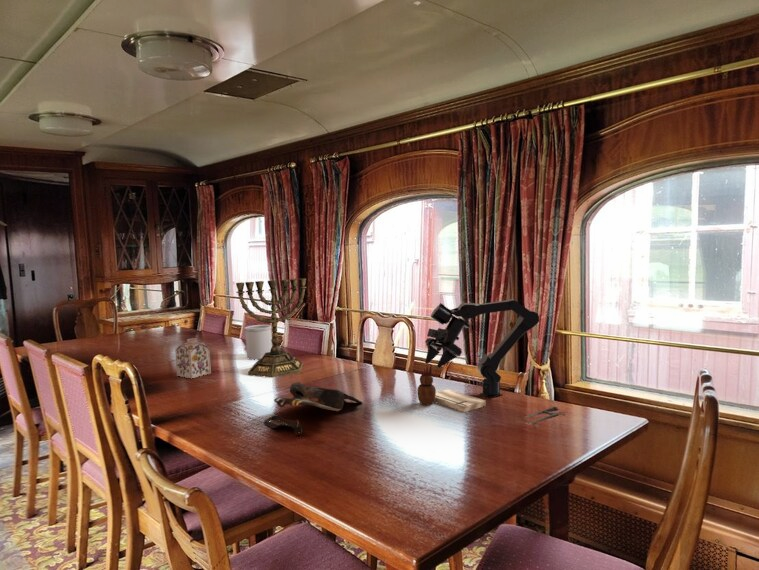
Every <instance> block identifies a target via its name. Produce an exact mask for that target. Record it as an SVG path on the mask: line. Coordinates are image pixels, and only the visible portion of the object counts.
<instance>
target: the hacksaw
mask: <svg viewBox="0 0 759 570" xmlns="http://www.w3.org/2000/svg"><path fill="white" fill-rule="evenodd" d="M559 409H560V408H558V406H551V407H549V408H547V409H544V410H542V411H538V412H535V413H532V414H528V415H526V416H524V418H531V417H534V416H537V415H538V416H539V415H541V414H543V413H544V414H548V415H546V416H544V417H541V418H539V419H536V420H534V421H531V422H529V423H528V422H525V421H519V420H516V422H517V423H521V424H522V423H523V424H526V425H528V426H530V425H532V427H533V428H530V429H529V431H530V430H535V429H536V426H535V425H536V424H538V422H541V421H544V420H547V418H548V419H551V418H553V416H554V417H557V416H558V415H560V414H563V416H565V415H566V413H565V412H562V411H560V412H556V411H558V410H559ZM553 410H556V411H555V412H554V411H553ZM549 411H550V412H549Z"/></svg>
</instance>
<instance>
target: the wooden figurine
mask: <svg viewBox="0 0 759 570" xmlns="http://www.w3.org/2000/svg"><path fill="white" fill-rule="evenodd" d="M433 382H434V378H433V376H432V364H430V365H429V368H428V366H426V369H425V368H424V369H423V370H422V371H421V375H420V377H419V385H418V386H417V399H418V402H419V404H421V405H423V406H431V405H433V404H434V403H435V402H434V400H435V395H436V392H437V391H436V386H435V385H434V384H433Z"/></svg>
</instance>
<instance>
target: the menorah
mask: <svg viewBox="0 0 759 570" xmlns="http://www.w3.org/2000/svg"><path fill="white" fill-rule="evenodd" d="M306 281H307V278H293V279H292V278H291V279H280V283H281V285H282V288H281V291H282V295H281V296H280V298H279V299H278V300H277V301H276V297H275V295H276V294H275V293H276V291H277V288H276V286H277V284H278V280H272V279H271V280H267V284H268V287H269V289H268V292H269V291H270V294H271V296H270V297H271V299H270V301H271V302H270V301H268V300H267V299H266V297H264V296H263V292H264V291H265V290H264V289H263V286H264V282H265V281H264V280H257V281H255V282H254V281H245V282H236V283H235V286H236V288H237V291H236V294H237V295H238V299H239V302H240V304H241V308H242V309H244V311H245V312H246V313H247V315H249V317H251V318H253V319H255V320H257V321H258V322H263V323H268V324H269V323H270V324H271V336H272V339H271V342H272V348H271V350H270V352H267V353H265V354H264V356H263V357H262V358H261V359H258V360H257V361H256V362H255V363H254V364H253V365H252V366H251V368H250V369H249V371H248V373H247V374H248V376H253V375H255V376H254V377H263V376H265V378H278V377H282V376H283V375H284V376H290V375H295V374H300V373H301V372H302V370H301V369H303V367H302V366H304V364H303V362H302V361H301V360H299V359H298V358H297V357H295V356H292V355H291V354H290V353H289V352H288V351H283V350H281V348H280V346H279V345H278V344H279V343H280V339H279V337H278V334H279V333H278V328H277V327H278V323H279V322H282V321H284V320H287V319H290V318H291V316H293V315H294V314H295V313H296V312H298V309H299V308H300V306H301V305H302V304H303V302H304V297H305V291H306V289H307V286H306V283H307V282H306ZM289 282H290V285H291V287H290V288H289V287H288V286H289ZM254 284H255V286H256V288H257V289H256V290H253V289H254ZM298 284H299V287H298ZM244 287H246V290H244ZM298 289H299V290H300V295H299V298H298V299H297V303H296V304H295V306H294V307H293V308H292V310H291V311H289V313H286V314H285V315H283V316H281V317H278V315H277V314H279V313H281V312H283V311H286V310H287V309H288V308H289V307H290V306H291V304H293V303H294V300H295V297H296V295H297V291H298ZM288 290H291V297H290V298H289V299H288V302H287V303H286V304H285V305H284V306H282V307H281V308H279V309H277V305H280V304H281V303H283V302H284V301H285V300H286V297H287V295H288V294H287V293H288ZM254 292H257V295H258V297H259V299H260V302H261V303H263V304H264V305H267V306H270V310H268V309H265V308H263V307H261V306H260V305H258V302H256V301H255V298H254V296H253V295H254V294H253V293H254ZM244 293H247V296H248V299H249V301H250V303H251V305H252V307H254V308H255V309H257V310H258V311H259V312H260V313H264V314H269V315H270V318H264V317H262V316H259V315H257V314H255V312H254V311H252V310H251V309H250V308H249V307H248V304H246V302H245V300H244ZM277 376H278V377H277ZM284 376H283V377H284Z"/></svg>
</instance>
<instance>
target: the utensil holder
mask: <svg viewBox="0 0 759 570" xmlns="http://www.w3.org/2000/svg"><path fill="white" fill-rule="evenodd" d="M243 329H244V332H245V334H244V335H245V347H246V355H247V356H246V357H247V359H248V358H249V359H248V360H252V359H258V360H259V359H261V358H262V357H263V356H264V354H265V353H267V352H270V350H271V348H272V346H273V344H272V342H271V339H272V338H273V336H272V324H271V325H270V324H256V325H248V326H245V327H244V328H243Z"/></svg>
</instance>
